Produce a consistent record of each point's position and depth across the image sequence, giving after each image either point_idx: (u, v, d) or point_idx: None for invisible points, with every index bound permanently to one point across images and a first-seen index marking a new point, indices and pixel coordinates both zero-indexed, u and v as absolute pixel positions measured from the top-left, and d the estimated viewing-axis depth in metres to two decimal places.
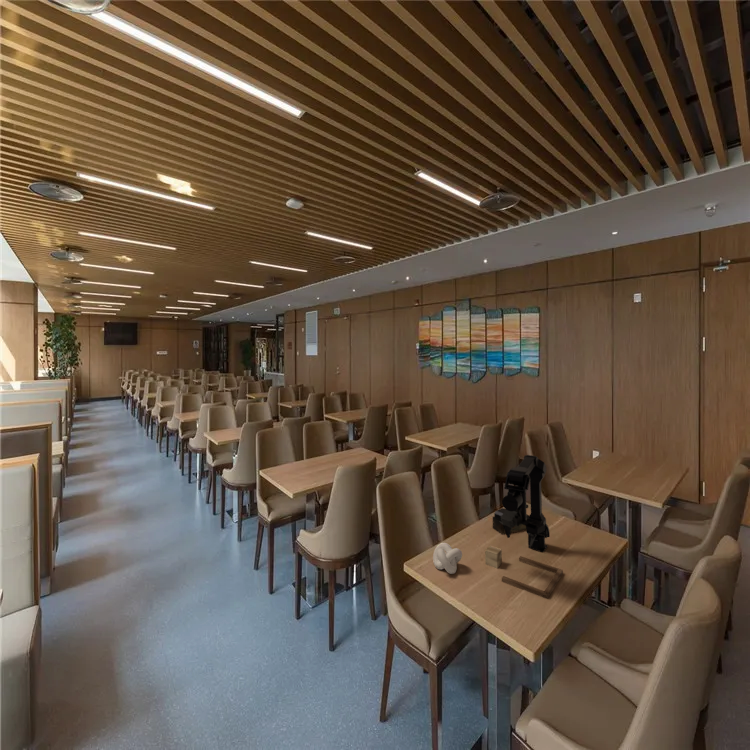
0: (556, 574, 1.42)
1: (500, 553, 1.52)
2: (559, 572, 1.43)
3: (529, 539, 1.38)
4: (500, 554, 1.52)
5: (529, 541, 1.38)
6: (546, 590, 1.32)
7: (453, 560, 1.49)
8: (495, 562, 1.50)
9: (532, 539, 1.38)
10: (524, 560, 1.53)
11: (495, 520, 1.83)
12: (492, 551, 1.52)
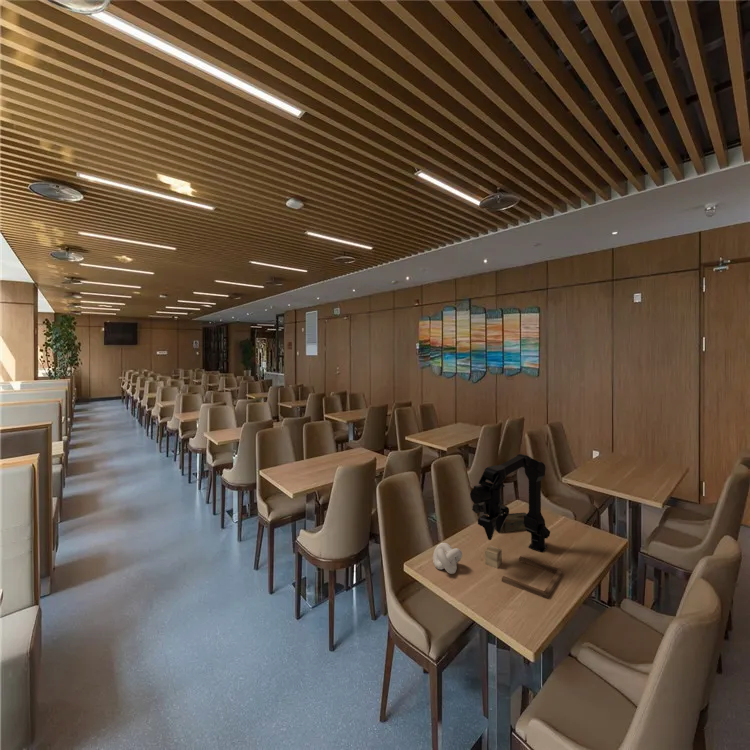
0: (556, 574, 1.42)
1: (500, 553, 1.52)
2: (559, 572, 1.43)
3: None
4: (500, 554, 1.52)
5: None
6: (546, 590, 1.32)
7: (453, 560, 1.49)
8: (495, 562, 1.50)
9: (488, 533, 1.48)
10: (524, 560, 1.53)
11: None
12: (492, 551, 1.52)
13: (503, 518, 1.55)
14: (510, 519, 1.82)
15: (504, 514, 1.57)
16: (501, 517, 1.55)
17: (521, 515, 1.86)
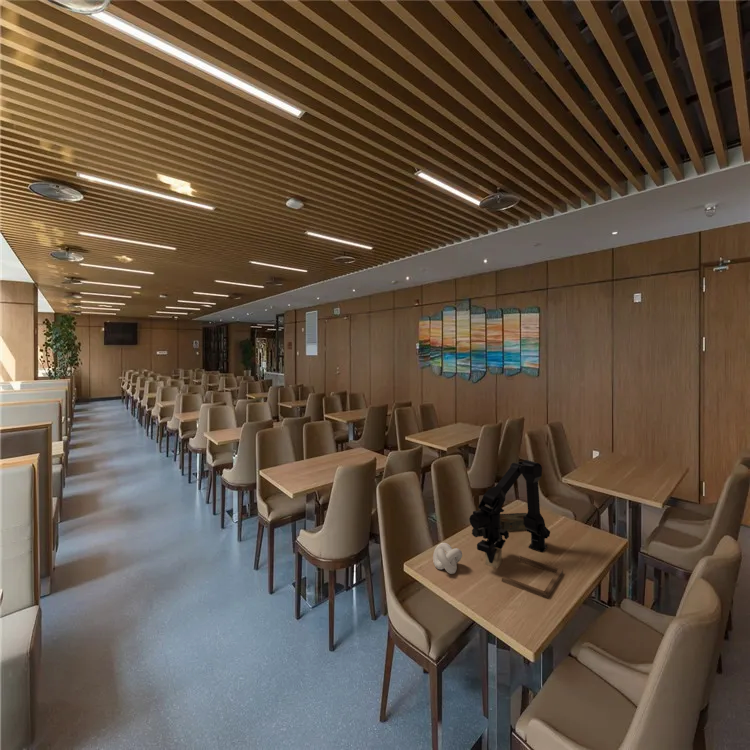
0: (556, 574, 1.42)
1: (500, 553, 1.52)
2: (559, 572, 1.43)
3: None
4: (500, 554, 1.52)
5: None
6: (546, 590, 1.32)
7: (453, 560, 1.49)
8: (495, 562, 1.50)
9: (489, 556, 1.50)
10: (524, 560, 1.53)
11: None
12: None
13: (501, 544, 1.54)
14: (509, 519, 1.82)
15: (502, 540, 1.56)
16: (499, 543, 1.55)
17: (521, 515, 1.86)
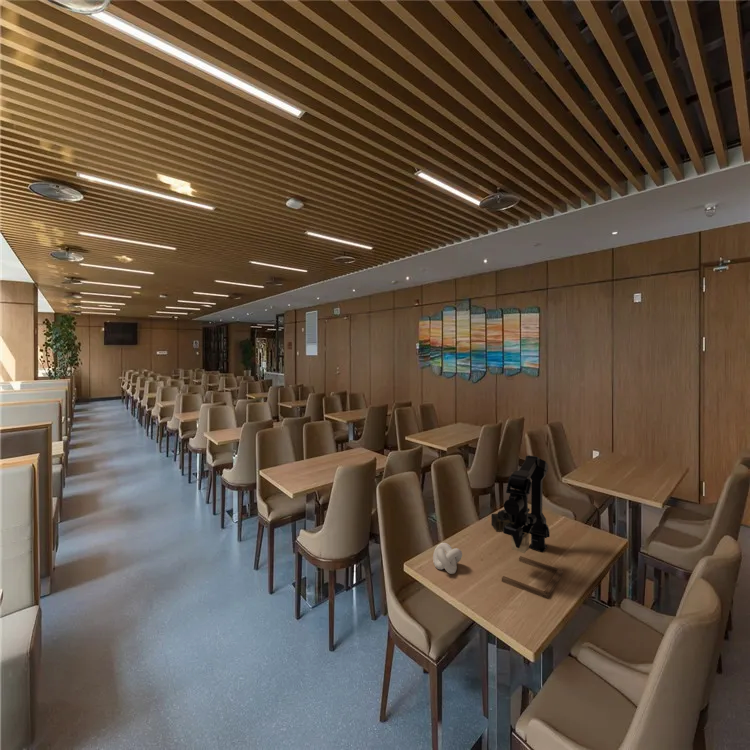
0: (556, 574, 1.42)
1: (527, 537, 1.44)
2: (559, 572, 1.43)
3: None
4: (527, 538, 1.44)
5: None
6: (546, 590, 1.32)
7: (453, 560, 1.49)
8: (522, 546, 1.42)
9: (516, 540, 1.42)
10: (524, 560, 1.53)
11: (492, 517, 1.86)
12: None
13: (528, 528, 1.46)
14: None
15: (529, 524, 1.48)
16: (526, 527, 1.47)
17: None
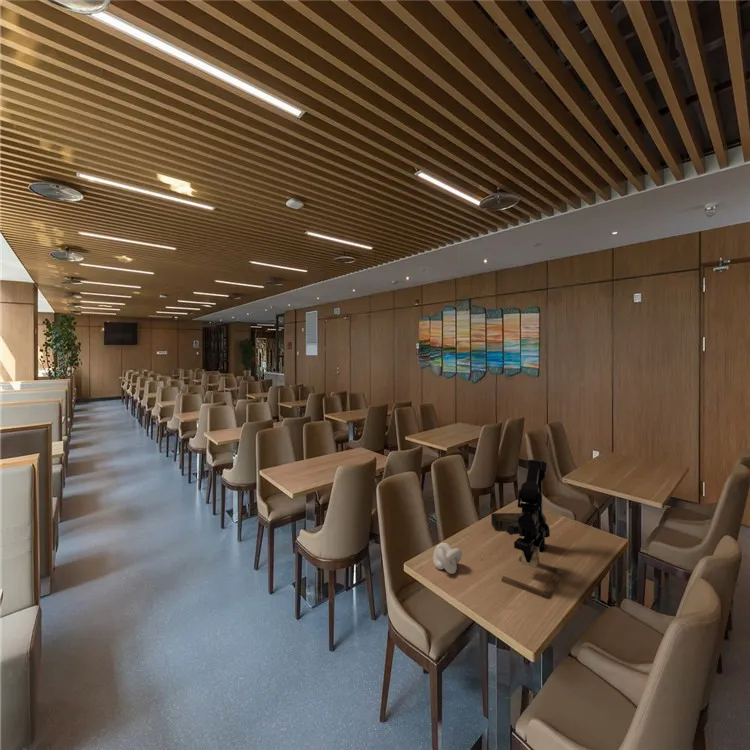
0: (556, 574, 1.42)
1: (538, 552, 1.42)
2: (559, 572, 1.43)
3: None
4: (537, 552, 1.42)
5: None
6: (546, 590, 1.32)
7: (453, 560, 1.49)
8: (533, 561, 1.40)
9: (527, 555, 1.40)
10: None
11: (492, 517, 1.87)
12: None
13: (538, 542, 1.44)
14: (508, 518, 1.83)
15: (539, 537, 1.46)
16: (536, 541, 1.45)
17: None
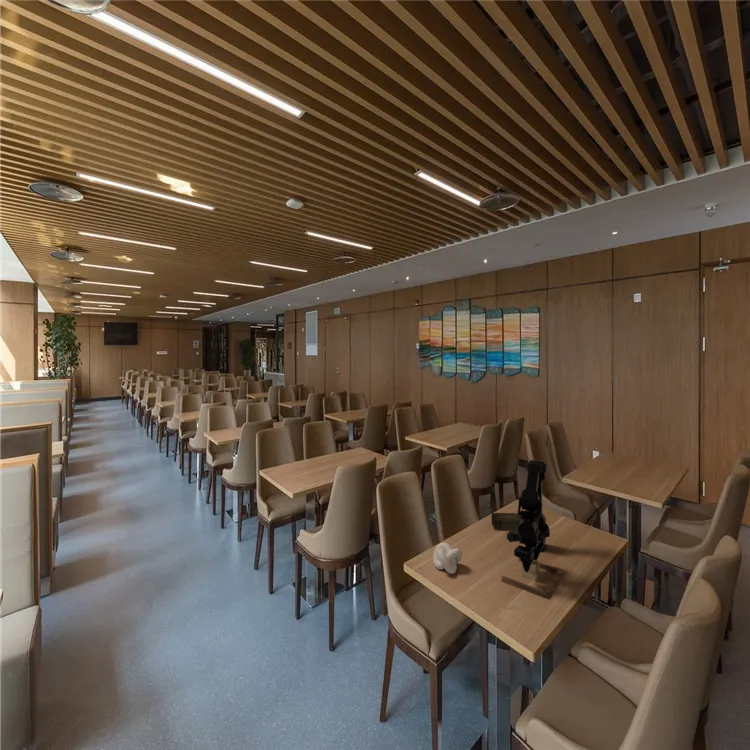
0: (556, 574, 1.42)
1: (538, 565, 1.42)
2: (559, 572, 1.43)
3: None
4: (537, 566, 1.42)
5: None
6: (546, 590, 1.32)
7: (453, 560, 1.49)
8: (533, 575, 1.40)
9: (525, 565, 1.39)
10: None
11: (492, 516, 1.88)
12: None
13: (540, 547, 1.45)
14: (508, 518, 1.83)
15: (540, 543, 1.47)
16: (537, 546, 1.46)
17: None
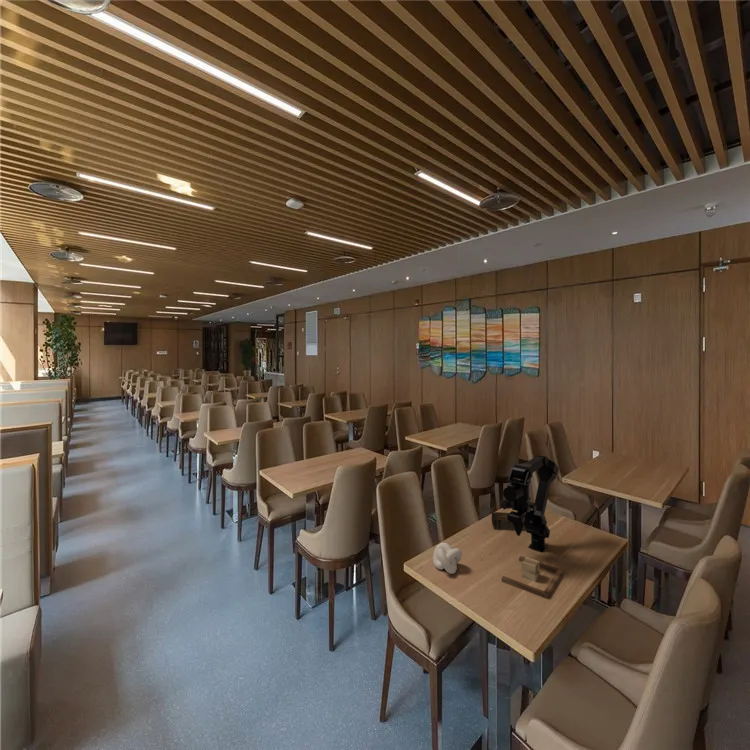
0: (556, 574, 1.42)
1: (538, 565, 1.42)
2: (559, 572, 1.43)
3: None
4: (537, 566, 1.42)
5: None
6: (546, 590, 1.32)
7: (453, 560, 1.49)
8: (533, 575, 1.40)
9: (517, 528, 1.51)
10: None
11: (492, 515, 1.89)
12: (529, 564, 1.42)
13: (531, 514, 1.58)
14: None
15: (531, 510, 1.60)
16: (529, 513, 1.59)
17: None
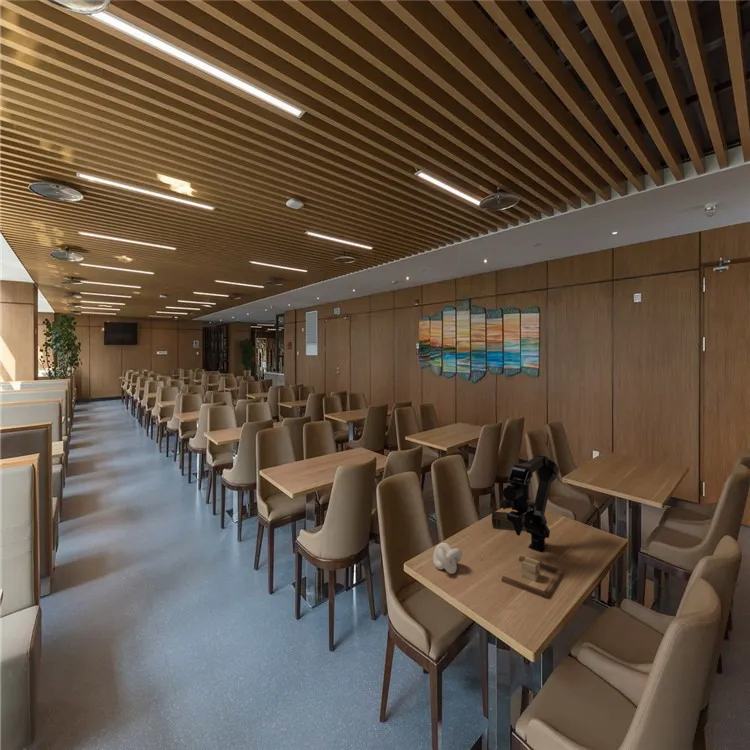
0: (556, 574, 1.42)
1: (538, 565, 1.42)
2: (559, 572, 1.43)
3: None
4: (537, 566, 1.42)
5: None
6: (546, 590, 1.32)
7: (453, 560, 1.49)
8: (533, 575, 1.40)
9: (517, 528, 1.51)
10: None
11: (492, 514, 1.89)
12: (529, 564, 1.42)
13: (531, 514, 1.58)
14: None
15: (531, 510, 1.60)
16: (528, 513, 1.59)
17: None
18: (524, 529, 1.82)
